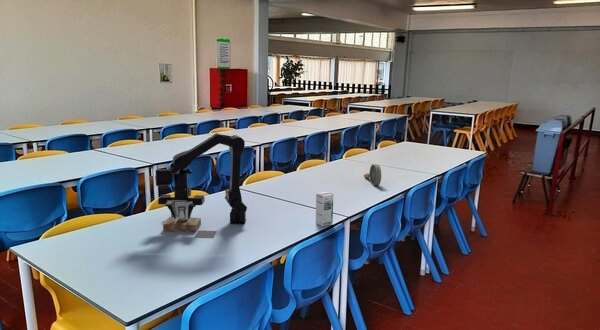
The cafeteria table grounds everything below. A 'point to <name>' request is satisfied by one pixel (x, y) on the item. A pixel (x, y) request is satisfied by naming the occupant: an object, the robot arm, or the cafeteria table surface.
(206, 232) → the mat
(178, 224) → the socket block
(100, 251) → the cafeteria table surface
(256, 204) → the cafeteria table surface
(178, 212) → the medicine box
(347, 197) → the cafeteria table surface
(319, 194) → the syrup box
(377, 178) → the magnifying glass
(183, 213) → the pin
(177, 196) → the robot arm
